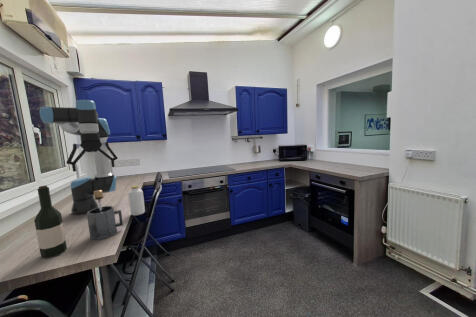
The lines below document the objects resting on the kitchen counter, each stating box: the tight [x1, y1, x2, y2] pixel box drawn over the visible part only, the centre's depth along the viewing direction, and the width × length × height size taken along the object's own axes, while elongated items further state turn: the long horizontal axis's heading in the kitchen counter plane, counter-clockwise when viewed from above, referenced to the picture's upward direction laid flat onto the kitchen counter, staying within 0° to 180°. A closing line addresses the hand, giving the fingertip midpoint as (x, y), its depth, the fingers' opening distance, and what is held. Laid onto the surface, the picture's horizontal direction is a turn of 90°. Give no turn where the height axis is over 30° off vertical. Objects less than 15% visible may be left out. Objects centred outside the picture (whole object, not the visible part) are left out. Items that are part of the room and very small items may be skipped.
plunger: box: [94, 190, 104, 213], centre depth 98 cm, size 7×7×19 cm
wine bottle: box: [33, 185, 68, 260], centre depth 84 cm, size 8×8×30 cm
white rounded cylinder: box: [127, 185, 146, 216], centre depth 125 cm, size 8×8×18 cm
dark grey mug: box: [86, 205, 124, 241], centre depth 100 cm, size 12×14×13 cm
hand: (95, 175), depth 97 cm, fingers open, 13 cm apart
